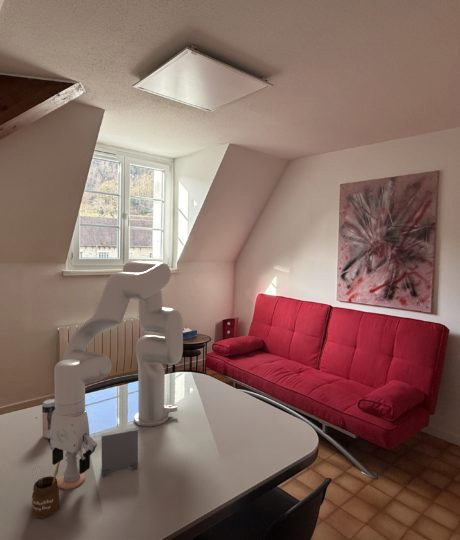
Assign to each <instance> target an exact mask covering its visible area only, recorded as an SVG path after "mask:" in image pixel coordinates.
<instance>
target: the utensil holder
mask: <svg viewBox="0 0 460 540" xmlns="http://www.w3.org/2000/svg"><path fill="white" fill-rule="evenodd" d="M60 462H61V461H59V462H58V463H57V464H56V466H55V470H54V474H53V476H52V475H51V476H50V475H49V476H44V475H45V474H44V470H42V472H41V470H39V475H41V473H42V475H43V477H42V476H39V477H40V478H39V477H38V475H37V473H38V472H37V466H35V467H33V470H35V473H34V474H32V477H33V481H34V484H33V488H32V489H33V490H32V491H33V492H32V495H31V511H32V515H33V516H34V517H36V518H38V519H43V518H47V517H50V516H51V515H54V513H56V512H57V510H58V509H59V506H60V489H59V487H58V485H57V480H58V478H56V477H57V475H58V472H59V467H60V464H61V463H60ZM38 468H39V469H41V466H38ZM35 476H36V477H35ZM35 478H36V479H35Z"/></svg>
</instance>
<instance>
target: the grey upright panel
mask: <svg viewBox="0 0 460 540" xmlns="http://www.w3.org/2000/svg"><path fill="white" fill-rule="evenodd" d="M100 437H101V474H102V477H103V478H105V477H109V476H110V473H111V472H116V471H121V470H126V469H132V471H133V472H134V471H137V470H139V466H138V465H139V429H138V427H133V428H126V429H122V430H115V431H108V432H104V433H101V436H100Z"/></svg>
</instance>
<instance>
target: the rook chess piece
mask: <svg viewBox="0 0 460 540" xmlns="http://www.w3.org/2000/svg"><path fill="white" fill-rule="evenodd" d="M64 454H65V455H64V456H65V457H66V459H65V461H66V468H65V470H64V472H63V474H64V475H63V474H62V475H63V476H64V478H63V479H64V481H65V482H68V483H71V482H74V481H76V480H78V479H79V477H80V476H81V474H80V473H79V465H78V462H77V460H78V455H79V454H78V452H77V453H71V452H68V451H66V452H65V453H64Z"/></svg>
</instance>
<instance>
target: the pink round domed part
mask: <svg viewBox="0 0 460 540" xmlns="http://www.w3.org/2000/svg"><path fill="white" fill-rule="evenodd" d="M63 475H64V473H63V474H62V475H61V476H59V477H58V478H57V486H58V488H60V489H62V490H71V489H74V488H77V487H79V486H80V485H82V484H83V483H84V481H85V479H86V474H85V472H84V473H83V474H81V476H80V477H79V479H78V480H76V481H74V482H71V483H68V482H65V481H64V479H63V478H64V476H63Z"/></svg>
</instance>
